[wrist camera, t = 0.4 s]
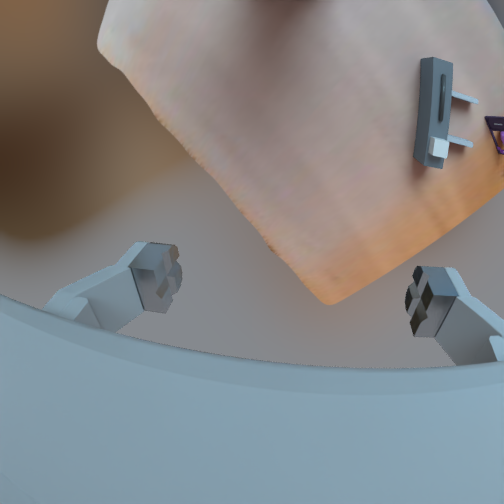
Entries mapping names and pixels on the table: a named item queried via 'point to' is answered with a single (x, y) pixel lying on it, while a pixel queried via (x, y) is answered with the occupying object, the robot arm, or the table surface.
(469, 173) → the table surface
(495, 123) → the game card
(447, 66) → the charging dock
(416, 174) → the table surface
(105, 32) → the table surface
